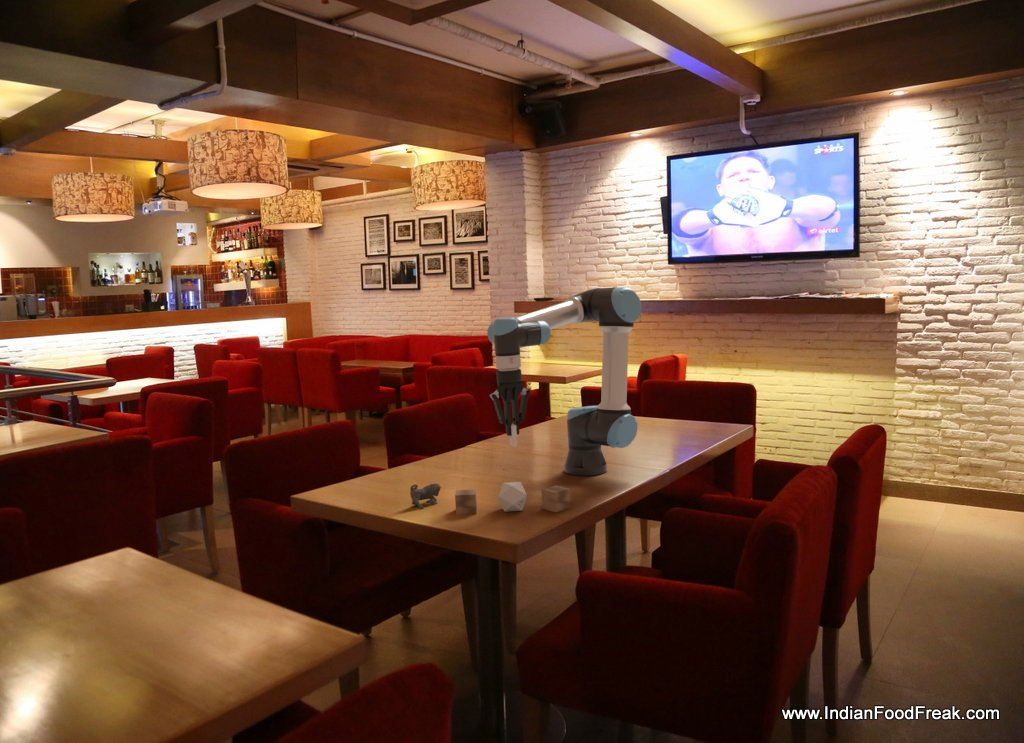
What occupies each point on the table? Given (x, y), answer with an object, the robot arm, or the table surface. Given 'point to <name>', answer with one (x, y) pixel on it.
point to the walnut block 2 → (556, 498)
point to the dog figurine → (425, 494)
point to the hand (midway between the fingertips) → (513, 445)
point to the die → (512, 496)
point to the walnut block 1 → (466, 502)
